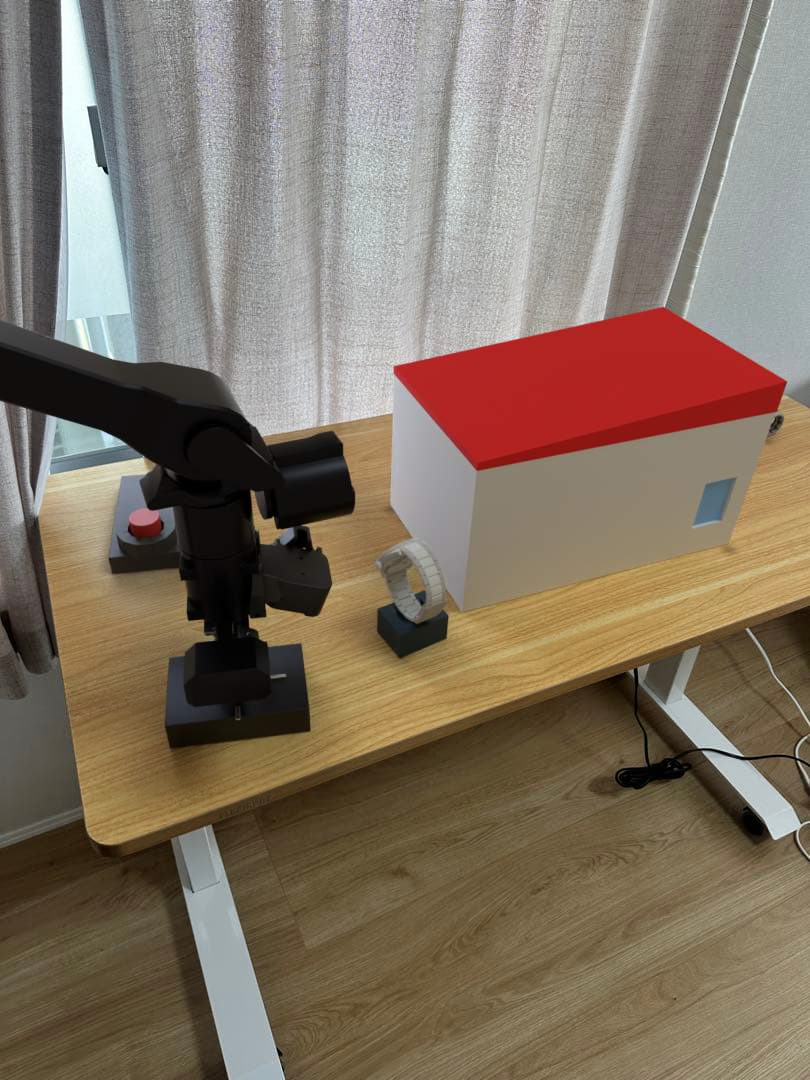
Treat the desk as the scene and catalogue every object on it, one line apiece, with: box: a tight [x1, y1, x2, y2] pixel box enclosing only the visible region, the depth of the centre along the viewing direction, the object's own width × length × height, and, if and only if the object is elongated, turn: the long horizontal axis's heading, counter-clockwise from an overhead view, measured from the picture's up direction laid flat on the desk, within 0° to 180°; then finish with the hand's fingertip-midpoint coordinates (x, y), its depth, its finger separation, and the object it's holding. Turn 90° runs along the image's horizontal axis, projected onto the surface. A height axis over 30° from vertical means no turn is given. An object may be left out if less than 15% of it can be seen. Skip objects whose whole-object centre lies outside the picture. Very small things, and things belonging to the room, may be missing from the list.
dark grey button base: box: [107, 473, 180, 575], centre depth 92 cm, size 16×8×4 cm, turn 11°
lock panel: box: [164, 642, 312, 750], centre depth 72 cm, size 12×9×3 cm
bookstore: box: [389, 306, 788, 613], centre depth 90 cm, size 21×35×21 cm, turn 112°
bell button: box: [128, 509, 162, 538], centre depth 86 cm, size 3×3×2 cm
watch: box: [374, 538, 450, 659], centre depth 77 cm, size 6×8×11 cm
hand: (236, 678), depth 71 cm, fingers closed on lock knob, 4 cm apart
